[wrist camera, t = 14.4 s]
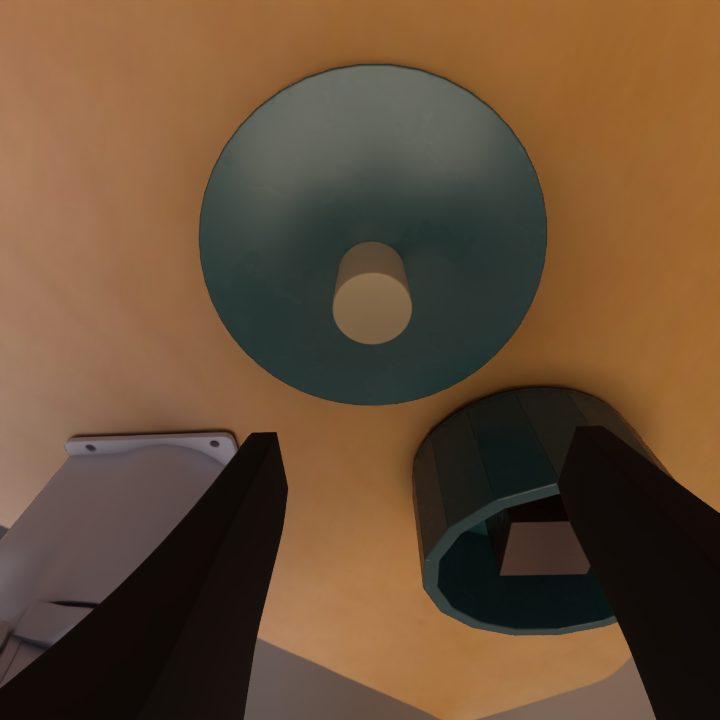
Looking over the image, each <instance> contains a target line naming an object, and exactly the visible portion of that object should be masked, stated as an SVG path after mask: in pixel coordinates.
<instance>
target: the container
mask: <svg viewBox="0 0 720 720" xmlns="http://www.w3.org/2000/svg"><path fill="white" fill-rule="evenodd" d="M576 426H604V427H605V428H607V429H608V430H609V431H611V432H612V433H614V434H615V435H616V436H618V437H619V438H620V439H622V440H623V441H624V442H626V443H627V444H628V445H629V446H631V447H632V448H633V449H635V450H636V451H637V452H639V453H640V454H641V455H642V456H644V457H645V458H646V459H648V460H649V461H650V462H652V463H653V464H654V465H655V466H657V467H658V468H659V469H661V470H662V471H663V472H665V473H666V474H667V475H669V476H670V477H671V478H672V479H674V478H673V477H672V476H671V474H670V473H669V472H668V471H667V469H666V468H665V467H664V466H663V464H662V463H661V462H660V461H659V459H658V458H657V457H656V456H655V455H654V453H653V452H652V451H651V450H650V448H649V447H648V446H647V445H646V443H645V442H644V441H643V440H642V438H641V437H640V436H639V435H638V433H637V432H636V431H635V430H634V429H633V428H632V427H631V426H630V425H629V424H628V423H627V422H626V421H625V420H624V419H623V418H622V416H621V415H620V414H619V413H618V412H617V411H616V410H615V409H613V408H612V407H611V406H610V405H608V404H606V403H605V402H603V401H601V400H599V399H597V398H595V397H592V396H590V395H587V394H585V393H581V392H577V391H573V390H567V389H559V388H530V389H520V390H515V391H509V392H504V393H501V394H498V395H494V396H491V397H488V398H485V399H483V400H480V401H478V402H475V403H473V404H471V405H469V406H467V407H465V408H463V409H461V410H460V411H458V412H457V413H455V414H454V415H452V416H451V417H449V418H448V419H446V420H445V421H444V422H443V423H442V424H440V425H439V426H438V427H437V428H436V429H435V430H434V431H433V432H432V433H431V434H430V435H429V437H428V438H427V439H426V441H425V442H424V443H423V445H422V446H421V448H420V450H419V452H418V454H417V456H416V459H415V462H414V466H413V473H412V481H413V503H414V512H415V521H416V530H417V539H418V547H419V556H420V565H421V574H422V583H423V588H424V590H425V591H426V593H427V594H428V595H429V597H430V598H431V599H432V601H433V602H434V603H435V605H436V606H437V607H438V609H439V610H440V611H441V612H442V613H444V614H446V615H448V616H450V617H452V618H454V619H456V620H458V621H460V622H462V623H464V624H466V625H468V626H470V627H473V628H477V629H482V630H487V631H492V632H498V633H503V634H508V635H561V634H567V633H572V632H577V631H583V630H588V629H594V628H599V627H604V626H608V625H611V624H613V623H616V622H618V621H617V619H616V617H615V615H614V613H613V611H612V609H611V607H610V605H609V603H608V601H607V599H606V597H605V595H604V593H603V591H602V589H601V586H600V584H599V582H598V580H597V578H596V576H595V574H594V572H593V570H592V568H591V566H590V568H589V570H588V572H587V574H563V575H508V576H500V575H499V572H498V568H497V564H496V561H495V557H494V553H493V550H492V546H491V543H490V539H489V535H488V532H487V528H486V525H485V521H484V520H486V519H487V518H489V517H491V516H492V515H494V514H496V513H498V512H499V511H501V510H503V509H505V508H509V507H512V506H516V505H520V504H523V503H527V502H531V501H534V500H538V499H542V498H546V497H549V496H553V495H557V494H560V492H559V488H558V485H557V483H558V480H559V477H560V474H561V471H562V468H563V465H564V462H565V459H566V456H567V453H568V450H569V447H570V444H571V441H572V438H573V435H574V432H575V429H576ZM674 480H675V479H674Z"/></svg>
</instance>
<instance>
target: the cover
mask: <svg viewBox="0 0 720 720" xmlns="http://www.w3.org/2000/svg"><path fill="white" fill-rule="evenodd" d="M546 246H547V217H546V211H545V204H544V198H543V193H542V190H541V187H540V183H539V180H538V177H537V174H536V171H535V169H534V167H533V165H532V162H531V160H530V158H529V156H528V154H527V152H526V150H525V148H524V147H523V145H522V144H521V142H520V141H519V139H518V138H517V137H516V135H515V134H514V132H513V131H512V129H511V128H510V127H509V125H508V124H507V123H506V122H505V121H504V120H503V119H502V118H501V117H500V116H499V115H498V114H497V113H496V112H495V111H494V110H493V109H492V108H491V107H490V106H489V105H487V104H486V103H485V102H484V101H482V100H481V99H480V98H478V97H477V96H476V95H474V94H473V93H472V92H470V91H469V90H467V89H465V88H463V87H461V86H460V85H458V84H456V83H454V82H452V81H450V80H448V79H446V78H444V77H441V76H438V75H435V74H433V73H430V72H427V71H424V70H421V69H417V68H411V67H405V66H400V65H394V64H357V65H351V66H344V67H338V68H332V69H329V70H326V71H323V72H320V73H317V74H314V75H311V76H308V77H305V78H303V79H302V80H300V81H298V82H296V83H294V84H292V85H290V86H288V87H286V88H284V89H282V90H280V91H279V92H278V93H276V94H275V95H274V96H272V97H271V98H270V99H268V100H267V101H265V102H264V103H263V104H261V105H260V106H259V107H258V108H257V109H256V110H255V111H254V112H253V113H252V114H251V115H250V116H249V117H248V118H247V119H246V120H245V121H244V122H243V123H242V124H241V125H240V126H239V127H238V129H237V130H236V131H235V133H234V134H233V136H232V137H231V138H230V140H229V141H228V142H227V144H226V145H225V147H224V148H223V150H222V152H221V154H220V156H219V158H218V160H217V162H216V164H215V166H214V168H213V170H212V173H211V175H210V178H209V181H208V184H207V187H206V190H205V193H204V198H203V203H202V208H201V213H200V226H199V247H200V260H201V265H202V270H203V274H204V279H205V283H206V286H207V289H208V292H209V294H210V297H211V300H212V303H213V305H214V307H215V309H216V311H217V313H218V315H219V317H220V319H221V321H222V322H223V324H224V325H225V327H226V328H227V330H228V331H229V333H230V334H231V336H232V337H233V338H234V340H235V341H236V342H237V343H238V344H239V345H240V347H241V348H242V349H243V350H244V351H245V352H246V353H247V354H248V355H249V356H250V357H251V358H252V359H253V360H254V361H255V362H256V363H257V364H258V365H260V366H261V367H262V368H264V369H265V370H266V371H268V372H269V373H270V374H272V375H273V376H274V377H276V378H278V379H279V380H281V381H283V382H284V383H286V384H288V385H290V386H292V387H294V388H296V389H298V390H300V391H303V392H305V393H307V394H310V395H313V396H316V397H319V398H322V399H325V400H330V401H335V402H339V403H345V404H354V405H388V404H397V403H403V402H408V401H413V400H417V399H420V398H423V397H426V396H430V395H433V394H435V393H437V392H440V391H442V390H445V389H447V388H449V387H451V386H453V385H455V384H456V383H458V382H460V381H462V380H464V379H465V378H467V377H468V376H470V375H471V374H473V373H474V372H475V371H477V370H478V369H480V368H481V367H482V366H483V365H484V364H486V363H487V362H488V361H489V360H490V359H491V358H492V357H494V356H495V355H496V354H497V353H498V352H499V350H500V349H501V348H502V347H503V346H504V345H505V344H506V343H507V342H508V341H509V339H510V338H511V336H512V335H513V334H514V332H515V331H516V330H517V328H518V327H519V325H520V324H521V322H522V320H523V319H524V317H525V315H526V313H527V311H528V310H529V308H530V306H531V304H532V301H533V299H534V296H535V294H536V291H537V289H538V286H539V283H540V279H541V275H542V271H543V267H544V262H545V254H546Z"/></svg>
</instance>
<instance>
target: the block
mask: <svg viewBox="0 0 720 720" xmlns="http://www.w3.org/2000/svg"><path fill="white" fill-rule="evenodd" d="M484 521H485V525H486V528H487V532H488V535H489V539H490V543H491V546H492V550H493V553H494V557H495V561H496V564H497V568H498V572H499V575H500V576H508V575H563V574H587V572H588V570H589V568H590V564H589V562H588V560H587V558H586V556H585V554H584V552H583V550H582V547H581V545H580V543H579V541H578V539H577V537H576V535H575V533H574V531H573V528H572V526H571V524H570V521H569V518H568V515H567V513H566V510H565V507H564V504H563V501H562V498H561V495H560V494H557V495H553V496H549V497H546V498H542V499H538V500H534V501H531V502H527V503H523V504H520V505H516V506H512V507H509V508H505V509H503V510H501V511H499V512H498V513H496V514H494V515H492V516H491V517H489V518H487V519H486V520H484Z"/></svg>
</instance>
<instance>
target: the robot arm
mask: <svg viewBox="0 0 720 720" xmlns="http://www.w3.org/2000/svg"><path fill="white" fill-rule="evenodd" d="M213 440H215V441H218V442H215V441H213ZM64 447H65V449H66V451H67V452H68V454H69V455H70V457H69V458H68V459H67V461H66V462H65V463H64V464H63V465H62V467H61V468H60V469H59V470H58V471H57V473H56V474H55V475H54V476H53V477H52V479H51V480H50V481H49V482H48V483H47V485H46V486H45V487H44V488H43V490H42V491H41V492H40V493H39V494H38V496H37V497H36V498H35V499H34V500H33V502H32V503H31V504H30V505H29V506H28V508H27V509H26V510H25V511H24V512H23V514H22V515H21V516H20V517H19V518H18V520H17V521H16V522H15V523H14V524H13V526H12V527H11V528H10V529H9V531H8V532H7V533H6V534H5V535H4V537H3V538H2V539H1V540H0V720H244V714H245V707H246V700H247V693H248V687H249V681H250V674H251V668H252V662H253V655H254V649H255V644H256V639H257V634H258V630H259V625H260V621H261V617H262V612H263V608H264V604H265V600H266V596H267V592H268V588H269V584H270V580H271V576H272V572H273V568H274V564H275V560H276V556H277V552H278V547H279V543H280V539H281V535H282V531H283V525H284V518H285V511H286V502H287V494H288V485H287V480H286V475H285V470H284V466H283V461H282V456H281V451H280V446H279V442H278V437H277V432H263V433H251V434H250V435H249V436H248V437H247V439H246V440H245V441H244V443H243V444H242V445H241V447H240V448H239V449H238V448H237V445H236V442H235V439H234V437H233V436H232V435H231V434H229V433H225V432H217V433H189V434H161V435H133V436H105V437H77V438H70V439H69V440H68V441H67V442H66V443H65V445H64ZM557 485H558V488H559V492H560V495H561V498H562V501H563V504H564V507H565V510H566V513H567V515H568V518H569V521H570V524H571V526H572V528H573V531H574V533H575V535H576V537H577V539H578V541H579V543H580V545H581V547H582V550H583V552H584V554H585V556H586V558H587V560H588V562H589V564H590V566H591V568H592V570H593V572H594V574H595V576H596V578H597V580H598V582H599V584H600V586H601V589H602V591H603V593H604V595H605V597H606V599H607V601H608V603H609V605H610V607H611V609H612V611H613V613H614V615H615V617H616V619H617V621H618V623H619V626H620V628H621V630H622V632H623V635H624V637H625V639H626V641H627V644H628V646H629V648H630V651H631V653H632V656H633V658H634V661H635V664H636V666H637V669H638V672H639V674H640V677H641V679H642V682H643V685H644V687H645V690H646V693H647V695H648V698H649V700H650V703H651V706H652V709H653V712H654V714H655V717H656V720H720V513H719V512H717V511H716V510H714V509H713V508H712V507H710V506H709V505H708V504H706V503H705V502H703V501H702V500H701V499H699V498H698V497H697V496H695V495H694V494H692V493H691V492H690V491H688V490H687V489H686V488H684V487H683V486H682V485H680V484H679V483H678V482H676V481H675V480H674V479H672V478H671V477H670V476H669V475H667V474H666V473H665V472H663V471H662V470H661V469H659V468H658V467H657V466H655V465H654V464H653V463H652V462H650V461H649V460H648V459H646V458H645V457H644V456H642V455H641V454H640V453H639V452H637V451H636V450H635V449H633V448H632V447H631V446H629V445H628V444H627V443H626V442H624V441H623V440H622V439H620V438H619V437H618V436H616V435H615V434H614V433H612V432H611V431H609V430H608V429H607V428H605V427H604V426H576V429H575V432H574V435H573V438H572V441H571V444H570V447H569V450H568V453H567V456H566V459H565V462H564V465H563V468H562V471H561V474H560V477H559V480H558V483H557Z"/></svg>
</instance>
